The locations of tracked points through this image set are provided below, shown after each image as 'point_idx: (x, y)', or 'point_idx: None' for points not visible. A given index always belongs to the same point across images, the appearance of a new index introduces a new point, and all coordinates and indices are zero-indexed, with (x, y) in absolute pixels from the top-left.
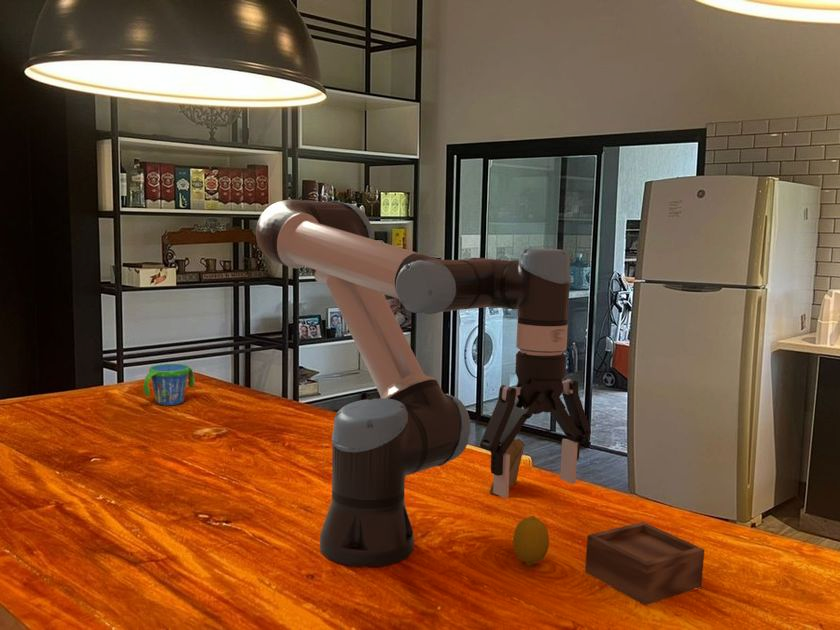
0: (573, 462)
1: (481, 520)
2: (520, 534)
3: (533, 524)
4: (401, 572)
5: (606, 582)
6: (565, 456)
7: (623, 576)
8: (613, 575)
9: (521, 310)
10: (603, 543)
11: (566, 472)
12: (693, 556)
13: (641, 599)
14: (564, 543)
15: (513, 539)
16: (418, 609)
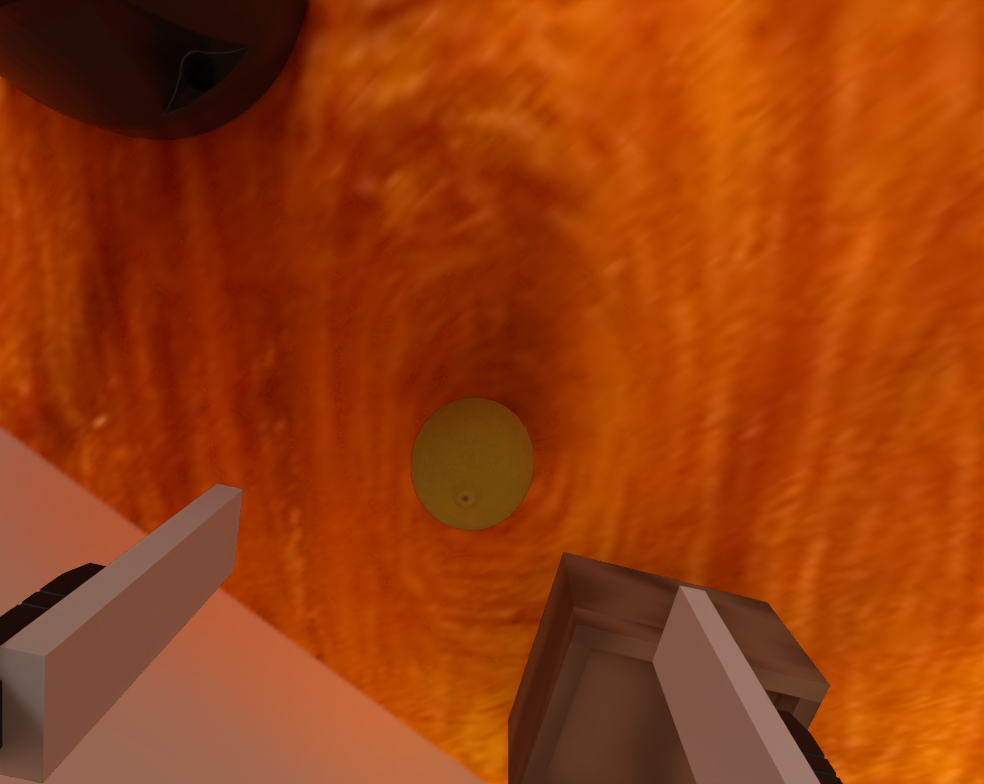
0: (693, 769)
1: (671, 66)
2: (411, 468)
3: (444, 512)
4: (131, 200)
5: (541, 621)
6: (723, 728)
7: (528, 698)
8: (536, 661)
9: None
10: (555, 683)
11: (680, 660)
12: None
13: (511, 720)
14: (699, 410)
15: (429, 418)
16: (48, 393)
